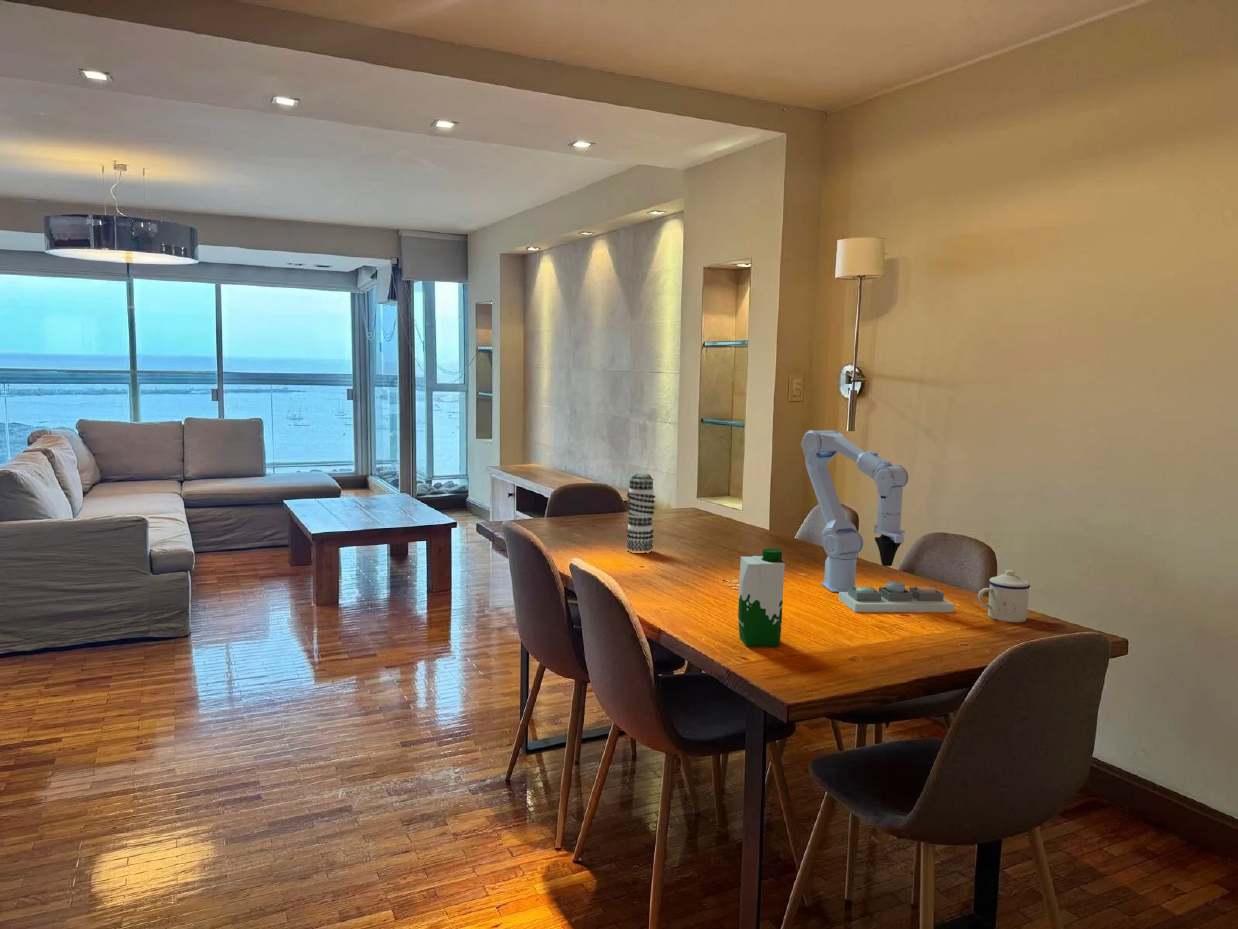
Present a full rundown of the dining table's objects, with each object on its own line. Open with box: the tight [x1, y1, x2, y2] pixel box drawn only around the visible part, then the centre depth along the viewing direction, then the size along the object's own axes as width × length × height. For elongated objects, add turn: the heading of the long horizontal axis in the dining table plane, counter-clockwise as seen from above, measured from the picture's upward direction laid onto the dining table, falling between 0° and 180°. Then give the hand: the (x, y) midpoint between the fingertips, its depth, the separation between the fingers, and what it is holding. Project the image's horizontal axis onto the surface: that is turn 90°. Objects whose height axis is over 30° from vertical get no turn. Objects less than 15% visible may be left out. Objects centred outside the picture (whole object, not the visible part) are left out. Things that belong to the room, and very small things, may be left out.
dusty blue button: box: [886, 581, 906, 593], centre depth 215 cm, size 4×4×2 cm
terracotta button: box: [917, 586, 936, 593], centre depth 216 cm, size 4×4×2 cm
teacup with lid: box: [977, 569, 1031, 624], centre depth 206 cm, size 12×9×12 cm
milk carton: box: [737, 548, 786, 648], centre depth 182 cm, size 9×9×20 cm
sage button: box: [855, 586, 875, 593], centre depth 215 cm, size 4×4×2 cm
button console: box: [838, 586, 955, 613], centre depth 215 cm, size 12×25×4 cm, turn 95°
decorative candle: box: [626, 473, 656, 551], centre depth 275 cm, size 9×9×25 cm
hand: (886, 565), depth 218 cm, fingers closed
